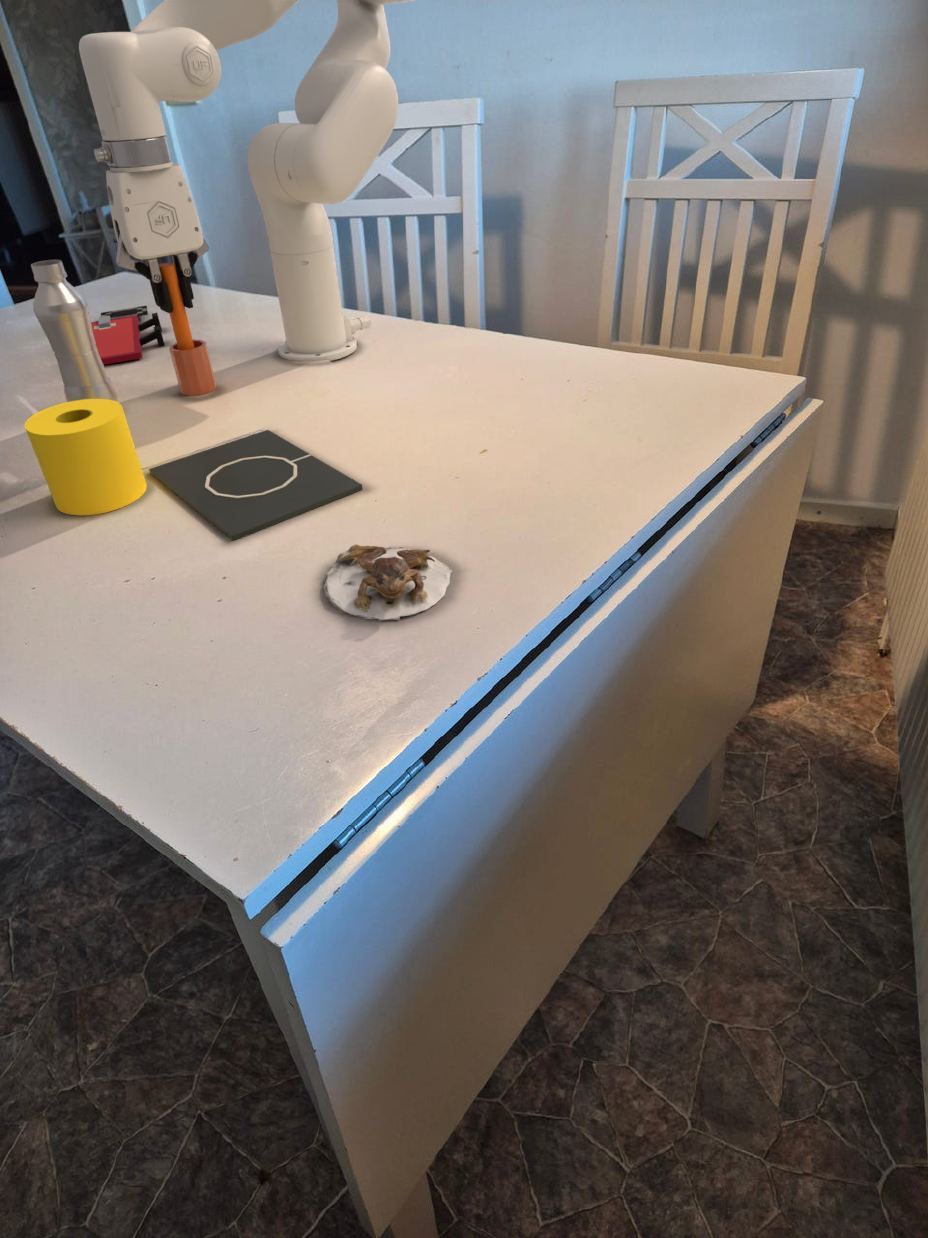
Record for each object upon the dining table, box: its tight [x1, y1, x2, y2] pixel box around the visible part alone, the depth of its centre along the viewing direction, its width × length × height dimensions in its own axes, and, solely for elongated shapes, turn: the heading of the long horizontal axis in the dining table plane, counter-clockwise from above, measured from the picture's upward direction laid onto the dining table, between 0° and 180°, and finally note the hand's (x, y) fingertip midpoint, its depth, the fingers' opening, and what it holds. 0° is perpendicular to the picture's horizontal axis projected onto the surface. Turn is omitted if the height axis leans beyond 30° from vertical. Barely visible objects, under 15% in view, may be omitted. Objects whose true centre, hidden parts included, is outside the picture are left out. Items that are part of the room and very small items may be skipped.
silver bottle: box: [30, 259, 119, 403], centre depth 107 cm, size 6×7×20 cm
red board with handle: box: [91, 305, 166, 366], centre depth 142 cm, size 30×3×15 cm
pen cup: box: [168, 339, 217, 397], centre depth 116 cm, size 5×5×7 cm
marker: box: [158, 262, 194, 350], centre depth 112 cm, size 2×2×13 cm
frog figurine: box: [323, 543, 453, 622], centre depth 74 cm, size 12×12×4 cm
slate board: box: [148, 429, 364, 541], centre depth 94 cm, size 16×22×1 cm
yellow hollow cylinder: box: [24, 399, 148, 516], centre depth 90 cm, size 10×10×9 cm
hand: (176, 307), depth 111 cm, fingers closed on marker, 2 cm apart
